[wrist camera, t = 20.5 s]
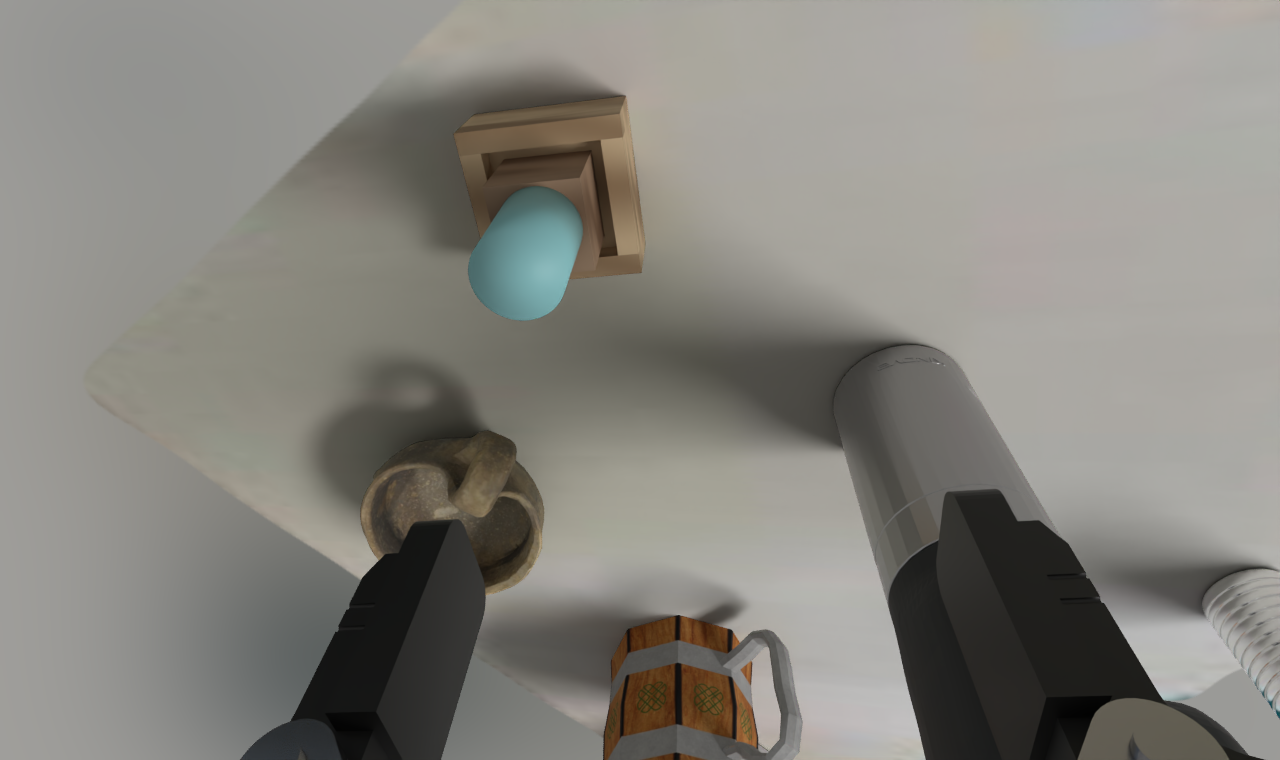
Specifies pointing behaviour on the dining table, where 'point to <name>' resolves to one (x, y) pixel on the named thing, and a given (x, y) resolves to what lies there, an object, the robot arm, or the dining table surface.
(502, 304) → the teal cylinder
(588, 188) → the walnut block
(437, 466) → the bowl
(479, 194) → the oak base
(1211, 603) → the water bottle
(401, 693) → the robot arm
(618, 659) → the mug
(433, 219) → the dining table surface
